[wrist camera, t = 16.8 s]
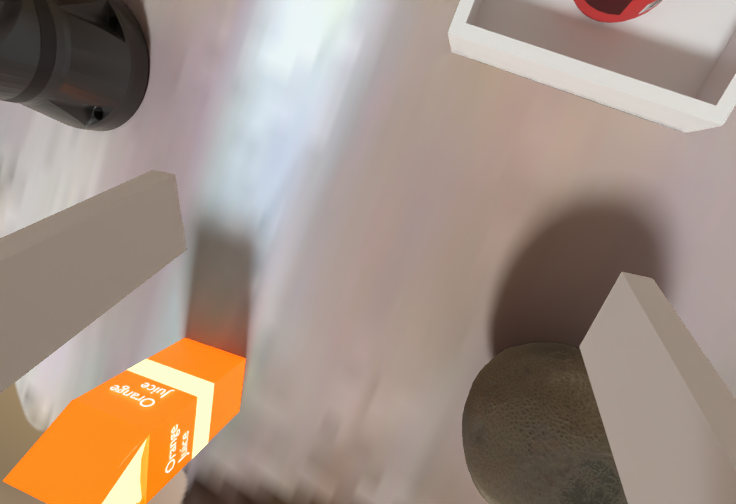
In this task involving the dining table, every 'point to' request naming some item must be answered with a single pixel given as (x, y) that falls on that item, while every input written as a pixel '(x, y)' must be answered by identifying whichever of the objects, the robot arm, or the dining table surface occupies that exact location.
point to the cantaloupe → (538, 430)
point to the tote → (613, 54)
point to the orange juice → (134, 429)
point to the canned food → (615, 9)
